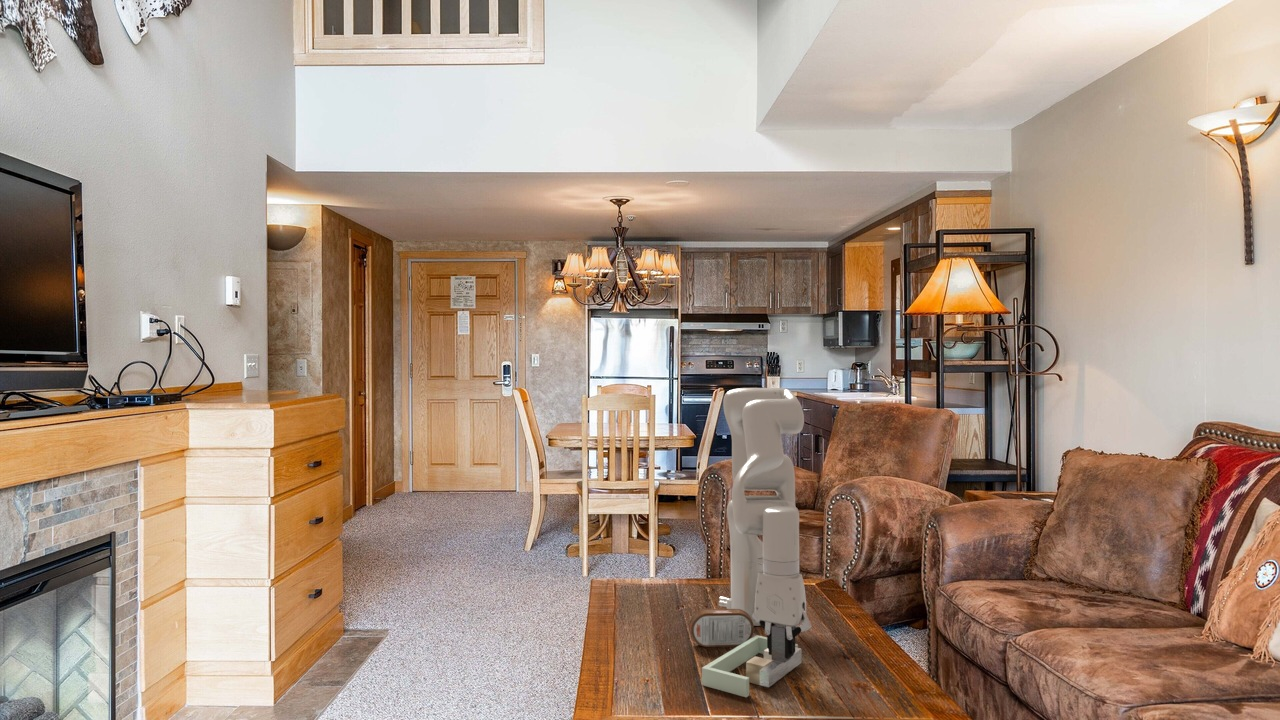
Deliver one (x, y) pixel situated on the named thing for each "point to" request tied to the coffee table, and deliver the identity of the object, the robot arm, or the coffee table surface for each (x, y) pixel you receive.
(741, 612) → the tin
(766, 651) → the cream block
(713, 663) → the block corral
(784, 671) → the slider lever
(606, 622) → the coffee table surface
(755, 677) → the maple block
